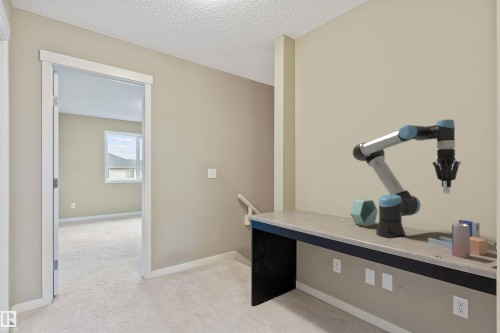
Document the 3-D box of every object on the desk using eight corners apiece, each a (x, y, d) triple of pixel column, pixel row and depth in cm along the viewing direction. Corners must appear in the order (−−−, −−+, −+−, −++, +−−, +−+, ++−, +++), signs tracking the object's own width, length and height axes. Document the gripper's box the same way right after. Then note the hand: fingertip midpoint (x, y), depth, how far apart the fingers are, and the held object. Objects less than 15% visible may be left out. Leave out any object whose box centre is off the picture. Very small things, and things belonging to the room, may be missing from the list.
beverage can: (449, 256, 114) (448, 223, 114) (463, 256, 114) (462, 223, 114) (458, 261, 108) (458, 226, 108) (473, 261, 108) (473, 226, 108)
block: (463, 250, 117) (463, 237, 117) (472, 249, 119) (471, 236, 119) (478, 255, 111) (478, 241, 111) (487, 253, 113) (487, 240, 113)
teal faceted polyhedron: (368, 232, 173) (356, 209, 168) (358, 230, 180) (347, 207, 175) (380, 216, 180) (370, 193, 175) (370, 215, 187) (360, 192, 182)
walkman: (459, 241, 135) (458, 219, 135) (461, 241, 136) (461, 219, 136) (477, 246, 128) (476, 222, 128) (480, 245, 129) (479, 221, 129)
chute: (427, 244, 131) (427, 238, 131) (441, 242, 134) (441, 236, 134) (461, 255, 115) (461, 247, 116) (477, 252, 119) (477, 244, 119)
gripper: (428, 149, 139) (429, 192, 139) (454, 147, 127) (455, 194, 127) (438, 149, 142) (438, 191, 141) (464, 148, 129) (465, 194, 129)
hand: (446, 193), depth 134 cm, fingers closed
